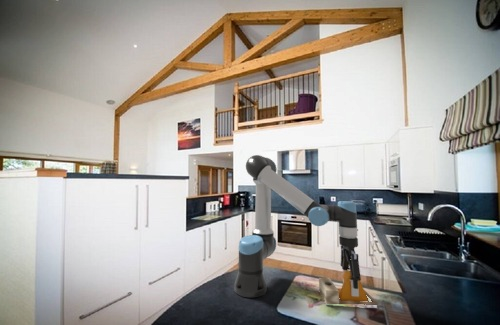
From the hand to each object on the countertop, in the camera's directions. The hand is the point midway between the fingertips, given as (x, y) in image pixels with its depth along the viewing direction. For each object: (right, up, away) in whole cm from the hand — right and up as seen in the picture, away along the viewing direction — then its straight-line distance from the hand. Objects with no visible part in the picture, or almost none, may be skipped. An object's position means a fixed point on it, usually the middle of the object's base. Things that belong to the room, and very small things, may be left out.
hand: (350, 290), depth 89 cm
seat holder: (-2, -4, 0) cm, 4 cm away
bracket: (0, -4, -1) cm, 4 cm away
